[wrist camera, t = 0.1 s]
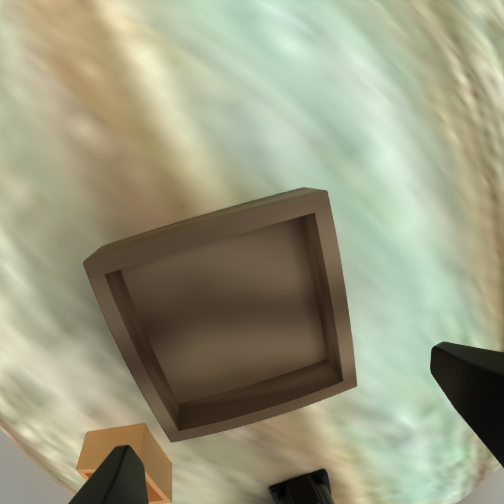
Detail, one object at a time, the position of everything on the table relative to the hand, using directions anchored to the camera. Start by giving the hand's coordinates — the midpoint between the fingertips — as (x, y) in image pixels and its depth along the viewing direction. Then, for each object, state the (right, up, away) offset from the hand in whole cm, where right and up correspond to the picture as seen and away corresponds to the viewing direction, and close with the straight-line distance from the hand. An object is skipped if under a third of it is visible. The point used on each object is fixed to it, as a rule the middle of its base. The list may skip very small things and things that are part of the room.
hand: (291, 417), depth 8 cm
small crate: (-12, -14, +17) cm, 25 cm away
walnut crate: (-3, 0, +15) cm, 15 cm away
